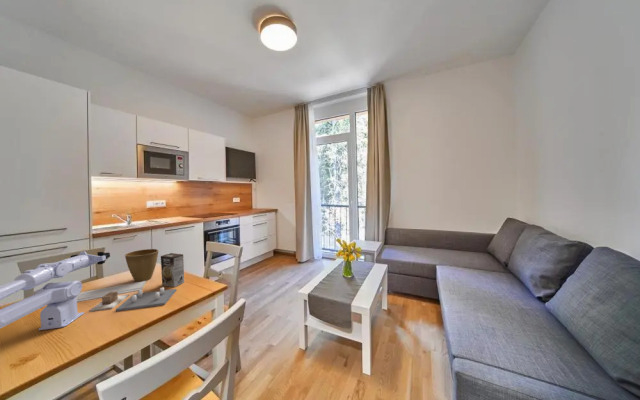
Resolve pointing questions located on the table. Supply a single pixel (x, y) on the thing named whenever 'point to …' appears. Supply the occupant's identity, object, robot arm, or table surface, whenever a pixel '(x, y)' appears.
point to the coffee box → (172, 269)
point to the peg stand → (147, 299)
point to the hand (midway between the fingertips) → (99, 255)
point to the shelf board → (105, 307)
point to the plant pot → (142, 263)
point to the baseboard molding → (102, 292)
